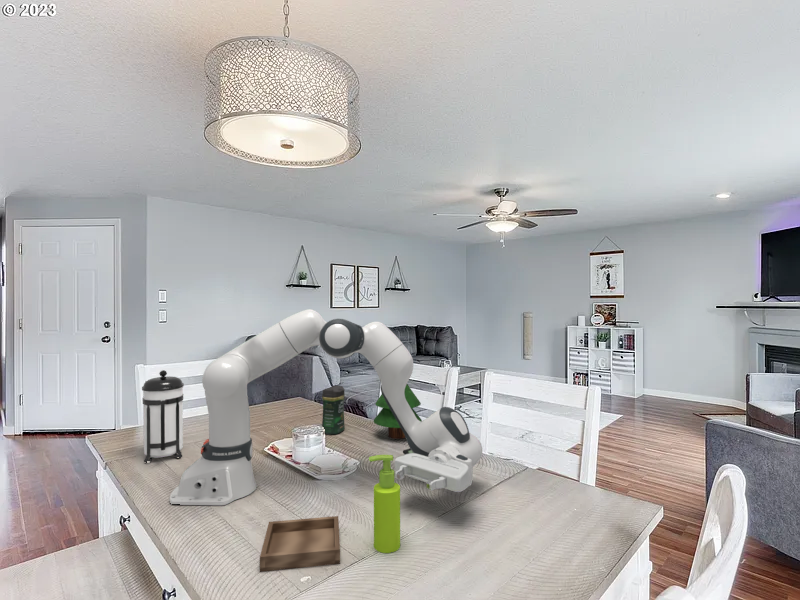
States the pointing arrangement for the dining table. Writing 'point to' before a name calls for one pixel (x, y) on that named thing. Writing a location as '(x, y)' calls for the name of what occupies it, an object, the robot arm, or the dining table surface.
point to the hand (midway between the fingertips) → (412, 481)
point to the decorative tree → (388, 419)
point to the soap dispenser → (386, 508)
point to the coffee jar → (333, 410)
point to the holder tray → (301, 544)
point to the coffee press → (163, 416)
